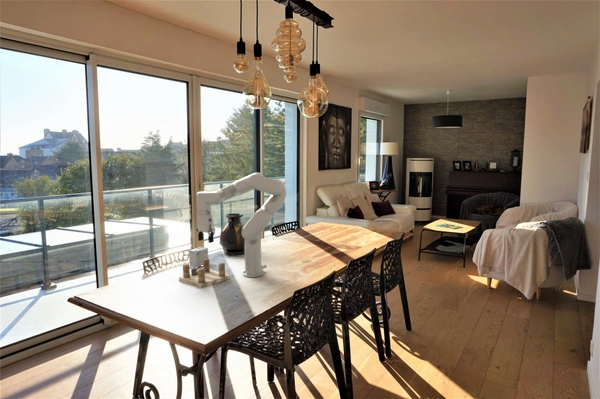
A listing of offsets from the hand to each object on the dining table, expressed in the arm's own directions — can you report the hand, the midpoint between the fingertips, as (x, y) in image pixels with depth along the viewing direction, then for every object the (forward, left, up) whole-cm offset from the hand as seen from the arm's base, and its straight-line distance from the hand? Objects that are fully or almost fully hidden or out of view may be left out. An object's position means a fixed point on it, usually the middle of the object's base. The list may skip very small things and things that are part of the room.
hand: (205, 241), depth 227 cm
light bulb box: (-9, -20, -20) cm, 30 cm away
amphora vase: (-44, -25, -20) cm, 55 cm away
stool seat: (+7, +7, -20) cm, 22 cm away
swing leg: (+4, 0, -18) cm, 18 cm away
